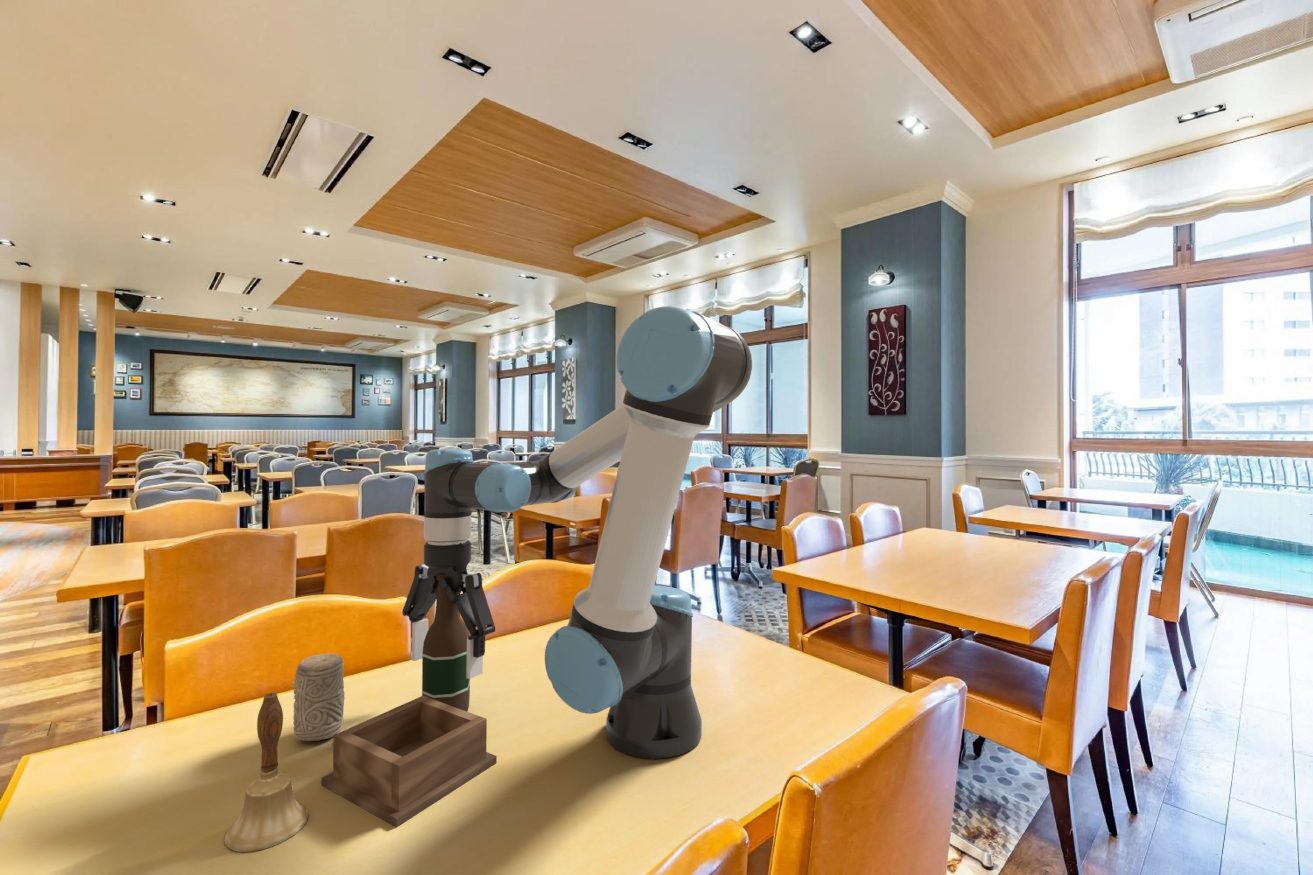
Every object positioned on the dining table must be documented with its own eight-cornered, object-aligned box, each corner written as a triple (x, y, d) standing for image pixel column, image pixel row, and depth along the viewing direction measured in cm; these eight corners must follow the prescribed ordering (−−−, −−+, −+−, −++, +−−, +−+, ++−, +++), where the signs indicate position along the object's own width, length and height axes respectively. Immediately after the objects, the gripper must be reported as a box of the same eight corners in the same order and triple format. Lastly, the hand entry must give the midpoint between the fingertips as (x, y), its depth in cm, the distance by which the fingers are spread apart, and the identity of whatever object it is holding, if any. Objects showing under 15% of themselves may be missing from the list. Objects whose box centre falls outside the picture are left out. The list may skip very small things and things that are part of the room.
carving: (353, 724, 93) (354, 650, 93) (322, 749, 86) (323, 669, 86) (316, 722, 94) (317, 649, 94) (282, 747, 86) (283, 667, 86)
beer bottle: (454, 728, 93) (456, 578, 93) (411, 722, 94) (412, 575, 94) (479, 706, 100) (480, 568, 100) (438, 701, 102) (439, 565, 102)
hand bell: (322, 805, 73) (323, 679, 73) (282, 852, 65) (283, 710, 65) (255, 805, 73) (256, 679, 73) (206, 853, 65) (207, 710, 65)
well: (496, 762, 83) (496, 717, 83) (396, 826, 69) (397, 772, 69) (423, 732, 91) (423, 691, 91) (321, 784, 77) (321, 736, 77)
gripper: (518, 545, 94) (516, 675, 94) (418, 530, 107) (417, 645, 107) (483, 553, 88) (481, 692, 88) (381, 536, 100) (380, 658, 100)
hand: (446, 666), depth 97 cm, fingers open, 13 cm apart
